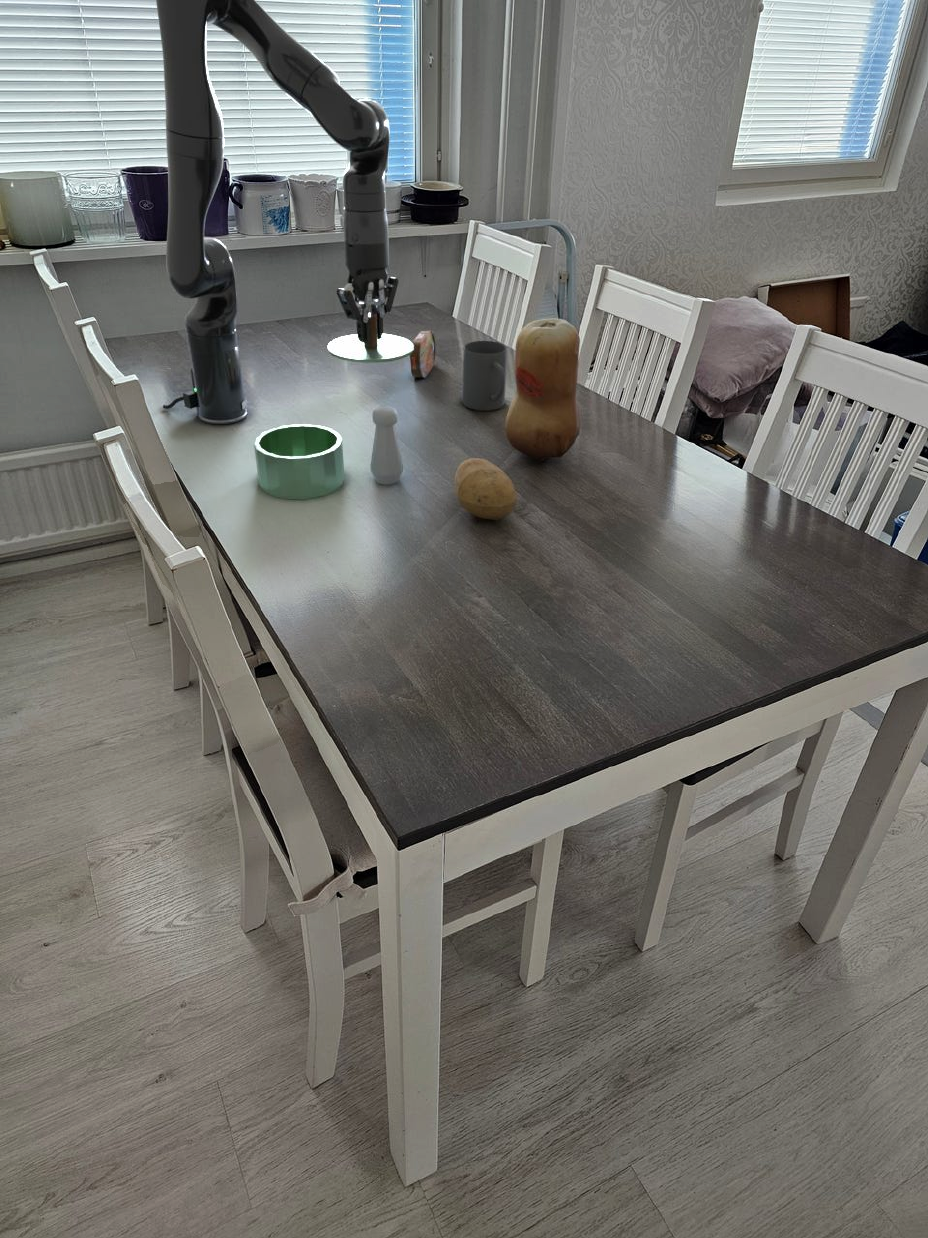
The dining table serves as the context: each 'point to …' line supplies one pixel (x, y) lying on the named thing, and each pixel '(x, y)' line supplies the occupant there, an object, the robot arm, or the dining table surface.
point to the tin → (423, 354)
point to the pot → (299, 461)
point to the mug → (484, 375)
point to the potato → (484, 489)
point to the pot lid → (371, 346)
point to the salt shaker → (386, 447)
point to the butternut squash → (545, 390)
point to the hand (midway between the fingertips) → (370, 339)
